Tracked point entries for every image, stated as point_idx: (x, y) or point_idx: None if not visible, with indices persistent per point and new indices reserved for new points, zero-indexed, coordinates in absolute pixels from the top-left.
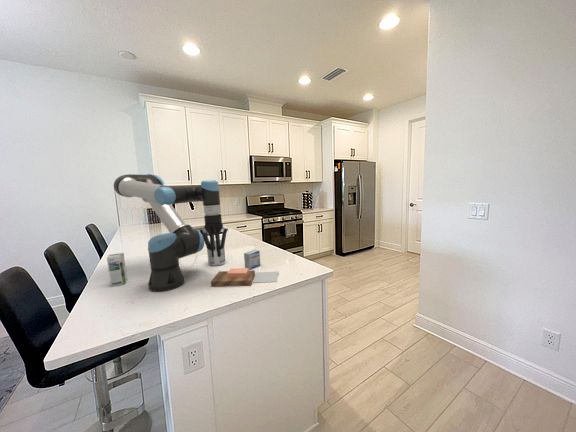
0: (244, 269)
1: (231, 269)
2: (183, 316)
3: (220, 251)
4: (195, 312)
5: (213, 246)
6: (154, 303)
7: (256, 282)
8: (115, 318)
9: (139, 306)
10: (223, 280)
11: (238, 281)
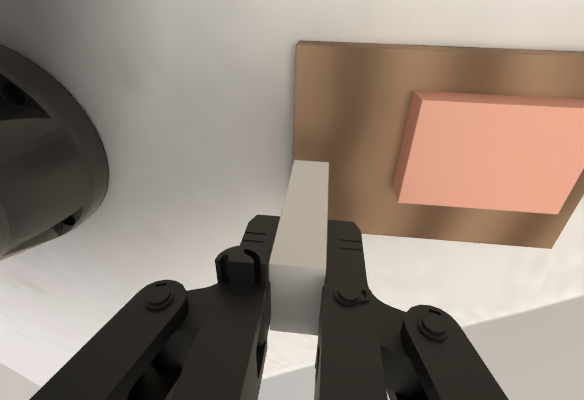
0: (561, 138)
1: (433, 122)
2: (271, 371)
3: (364, 273)
4: (300, 362)
5: (257, 394)
6: (120, 302)
7: (582, 196)
8: (77, 349)
9: (84, 310)
10: (369, 224)
11: (467, 239)
